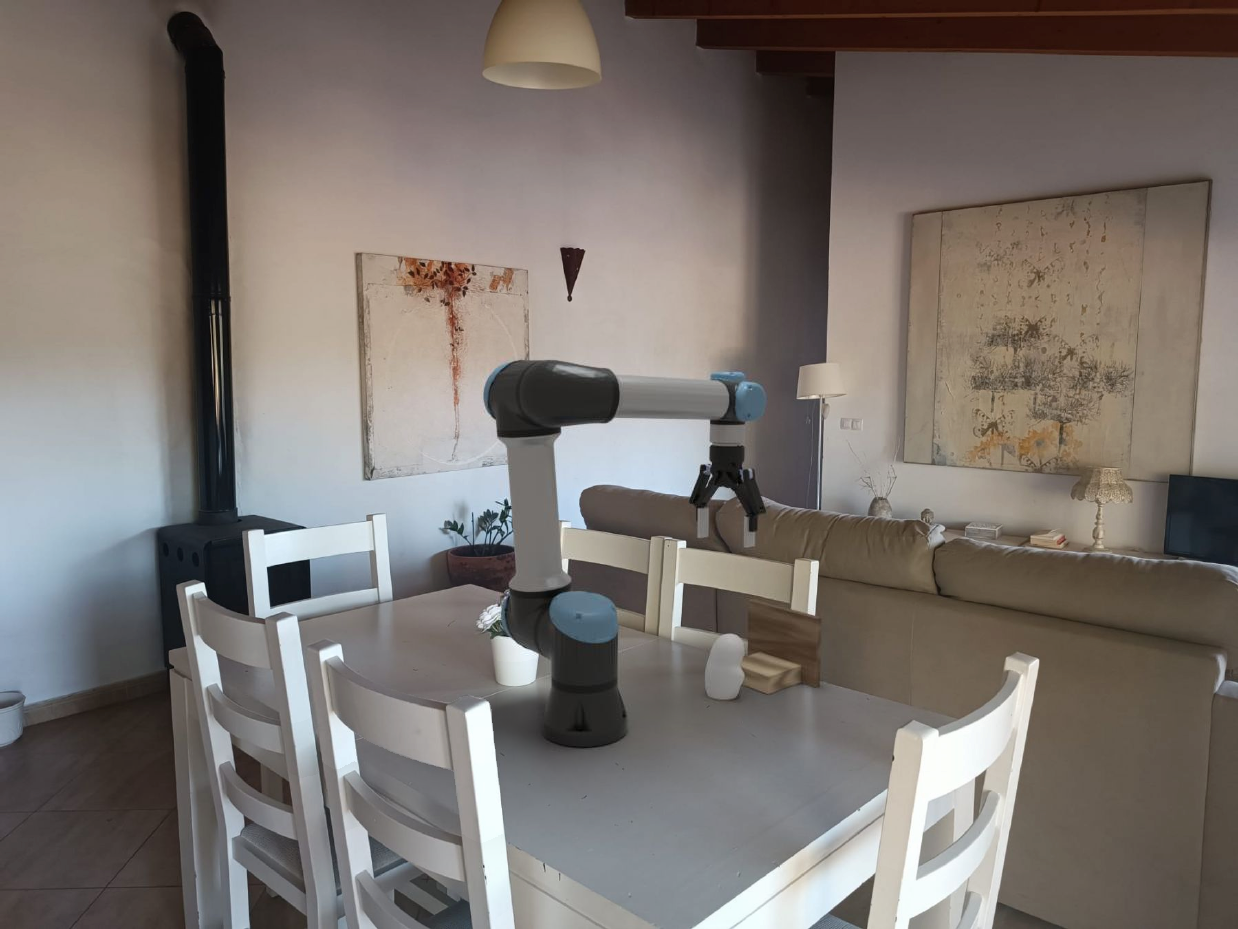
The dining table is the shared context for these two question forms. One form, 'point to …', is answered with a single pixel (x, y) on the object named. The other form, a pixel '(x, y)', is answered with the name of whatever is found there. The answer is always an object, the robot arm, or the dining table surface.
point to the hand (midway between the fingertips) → (725, 542)
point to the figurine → (725, 668)
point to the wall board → (781, 648)
